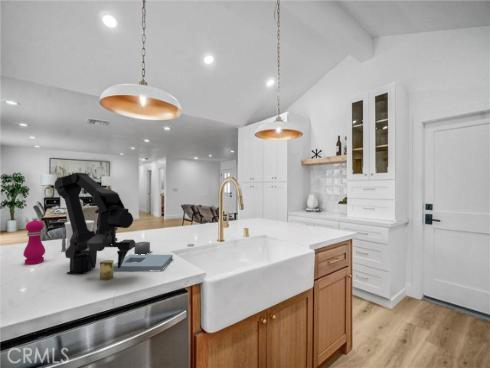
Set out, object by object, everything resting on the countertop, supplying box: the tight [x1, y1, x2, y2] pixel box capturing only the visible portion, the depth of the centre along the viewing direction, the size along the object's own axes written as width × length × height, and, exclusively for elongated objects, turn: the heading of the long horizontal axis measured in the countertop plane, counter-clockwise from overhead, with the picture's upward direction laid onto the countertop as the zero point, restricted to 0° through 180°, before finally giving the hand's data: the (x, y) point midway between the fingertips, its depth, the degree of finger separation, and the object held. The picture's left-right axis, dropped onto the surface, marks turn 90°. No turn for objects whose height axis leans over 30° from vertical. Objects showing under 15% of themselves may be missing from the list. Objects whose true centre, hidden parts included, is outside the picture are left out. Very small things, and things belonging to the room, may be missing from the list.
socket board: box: [113, 254, 174, 272], centre depth 104 cm, size 20×16×2 cm
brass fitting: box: [99, 259, 115, 281], centre depth 89 cm, size 4×4×6 cm
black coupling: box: [133, 241, 151, 255], centre depth 122 cm, size 7×7×5 cm
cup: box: [64, 219, 95, 246], centre depth 105 cm, size 11×11×18 cm
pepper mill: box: [23, 216, 46, 266], centre depth 105 cm, size 7×7×20 cm
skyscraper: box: [60, 199, 84, 253], centre depth 127 cm, size 8×8×28 cm
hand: (106, 268), depth 89 cm, fingers open, 9 cm apart
